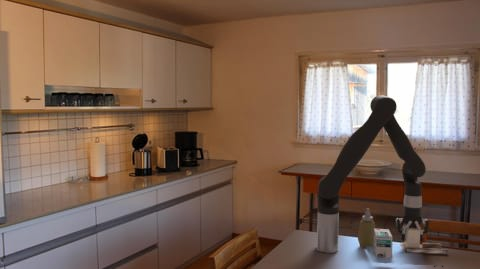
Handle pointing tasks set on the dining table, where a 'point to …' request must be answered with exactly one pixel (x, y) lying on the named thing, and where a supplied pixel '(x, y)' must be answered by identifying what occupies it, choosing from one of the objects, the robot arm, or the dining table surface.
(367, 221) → the squeeze bottle
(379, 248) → the light bulb box
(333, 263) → the dining table surface
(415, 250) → the brown panel with ledge
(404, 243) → the carton
